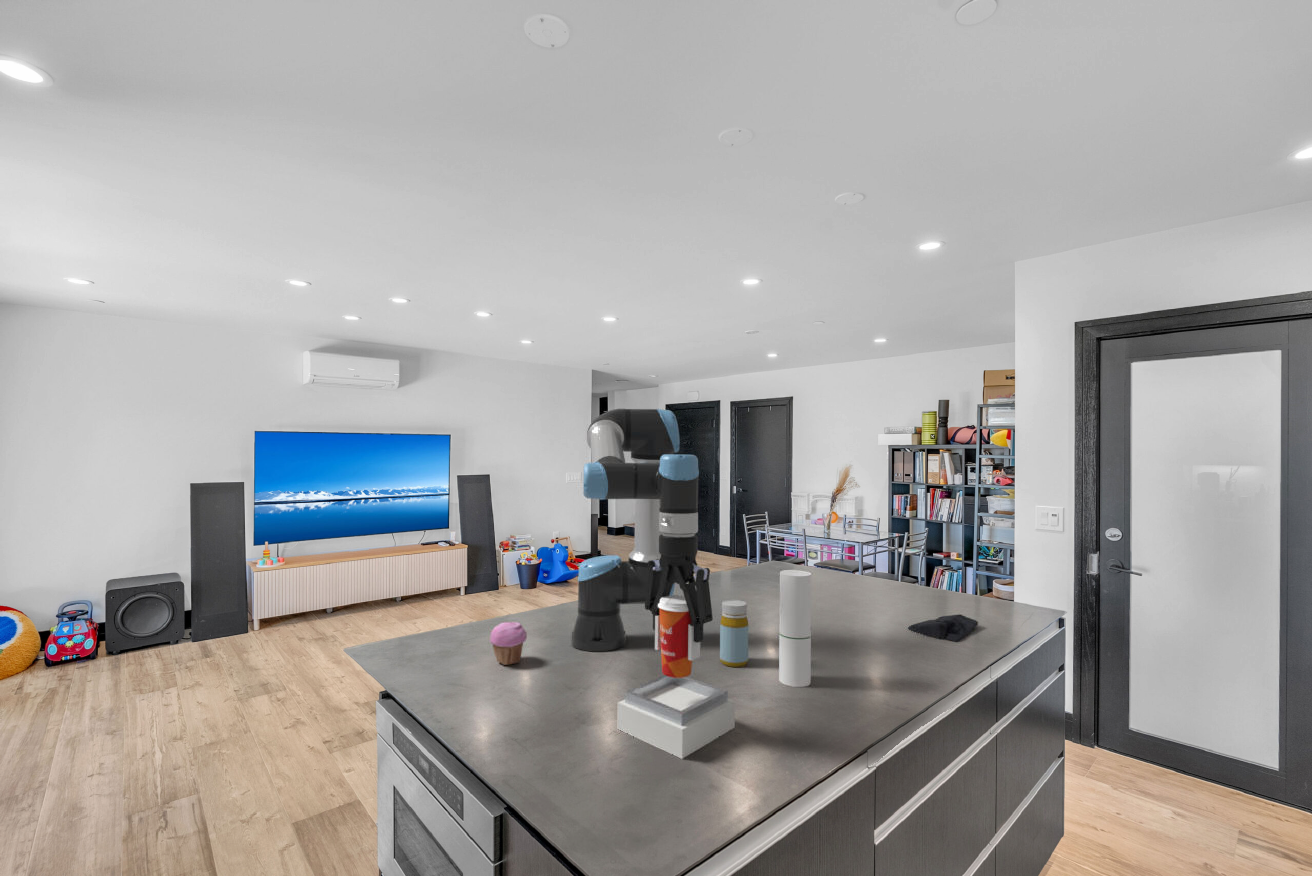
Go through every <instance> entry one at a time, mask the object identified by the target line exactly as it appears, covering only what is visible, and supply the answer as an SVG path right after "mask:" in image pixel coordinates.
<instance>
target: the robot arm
mask: <svg viewBox="0 0 1312 876" xmlns="http://www.w3.org/2000/svg"><path fill="white" fill-rule="evenodd" d="M586 442H587V446H588V448H590V452H591V453H590V454H591V455H590V456H591V462H588V463H585V464H584V466H583V486H582V487H583V488H582V489H583V490H582V491H583V492H582V493H583V496H584V497H585V498H586V499H589V500H590V499H595V500H597V499H598V500H599V501H603V500H634V501H635V504H634V505H635V507H634V509H635V510H634V547H633V550H632V551H631V552H630V553H628V560H627V561H625V560H623V561H622V558H621V556H620V555H611V554H610V555H609V554H608V555H600V556H594V557H591V558H588V559H585V560H583V561H582V562H581V563H580V564H579V566H578V574H577V575H578V577H577V582H578V587H577V589H578V590H577V591H578V593H577V596H578V597H577V617H576V620H575V622H574V623H575V624H574V626H573V630H572V632H571V635H570V645H571V646H573V648H576V649H577V650H581V651H588V652H607V651H614V650H618V649H620V648H622V647H624V646H625V645H626V644H627V633H626V631H625V628H624V623H623V619H622V616H621V605H642V604H643V605H644V609H645V610H646V611H648V610H649V612H651V614H652V629H653V631H654V650H655V651H661V636H660V610H659V607H658V604H659V603H660V599H661V598H662V597H665V596H669V595H670V596H673V594H674V591H675V586H676V584H678V585H679V588H680V590H681V591H682V593H683V595H684V597H685V600H686V604H687V607H688V611H689V614H690V617H691V621H692V623H690V624H689V625H688V660H690V661H692V662H693V661H695V660H697V659H699V658H701V642H703V639H704V624H707V623H710V622H713V619H714V618H713V609H712V602H711V601H712V600H711V599H712V598H711V593H710V591H711V590H710V581H709V580H710V573H711V570H710V568H709V567H701V566H699V565H698V563H697V560H696V558H697V554H698V548H699V546H698V544H699V543H698V541H699V537H698V536H697V535H696V534H697V533H698V532H699V510H698V509H699V507H698V506H699V475H700V470H699V459H698V457H697V455H694V454H675V453H679V451H680V431H679V425H678V421H677V417H676V415H675V413H674V412H673V411H671V410H669V409H659V408H648V409H647V408H616V409H610V410H608V411H606V412H604V413H602V414H599V416H597V417H596V418H595V419H593V420H592V422H591V423H590V424H589V426H588V428H587V430H586ZM624 452H629V453H630V458H631V459H630V460H632V461H633V462H626V459H625V453H624Z"/></svg>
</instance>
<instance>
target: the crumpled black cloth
mask: <svg viewBox="0 0 1312 876" xmlns="http://www.w3.org/2000/svg"><path fill="white" fill-rule="evenodd" d="M978 625H979V621H978V620H976V619H974V618H971V617H968V616H966V615H964V614H951V615H942V616H939V617H937V618H935V619H929V620H925V621H921V622H916V623H914V624H910V625H909V626H908V627H907V630H908V629H909V630H908V631H910V630H911V631H913V632H912V633H915V632H916V633H915V634H919V633H920V634H919V635H922V634H923V635H922V636H925V635H926V637H927V638H928V637H929V638H932V637H933V639H936V640H943V641H944V640H945V641H948V642H949V641H951V642H954V641H955V642H956V643H958V642H959V641H960V640H962V639H964V638H966V637H967V635H969V634H970V633H971V632H972V631H973V630H974V629H975V628H976V627H977V626H978Z"/></svg>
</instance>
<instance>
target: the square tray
mask: <svg viewBox="0 0 1312 876" xmlns="http://www.w3.org/2000/svg"><path fill="white" fill-rule="evenodd" d="M728 694H729V692H728V690H726V689H724V688H720V687H717V686H714V685H712V684H708V683H706V682H703V681H700V680H696V679H695V678H694V679H693V678H691V677H689V676H687V677H683V678H673V677H668V676H666V675H664V674H663V675H662V676H660V677H658V678H655V679H653V680H649V681H648V682H645V683H643V684H640V685H638V686H636V687H634V688H631V689H628V690H627V691H624V699H623V700H621V701H618V702H617V705H616V706H617V710H616V711H617V712H616V713H617V715H616V724H617V725H616V729H617V730H618V729H619V730H618V731H620V730H621V731H620V732H622V731H623V733H625V734H627V733H628V734H627V735H628V736H631V737H633V736H634V738H635V739H637V740H640V741H641V742H645V743H647V744H649V745H651V746H652V747H654V748H655V747H656V748H657V749H659V750H662V751H664V752H666V753H668V754H671V755H672V754H673V756H675V757H677V758H680V759H681V760H683V759H685V758H687V757H688V756H690V755H691V754H693V753H695V752H696V751H698V750H700V749H701V748H703V747H705V746H706V745H707V744H710V743H712V742H713V741H714V740H716V739H717V738H718V739H719V736H720V737H721V736H723V735H725V734H726V733H728V732H729V730H730V731H731V730H733V729H734V728H736V726H735V725H736V716H735V715H736V701H735V700H733V699H730V698H729V697H728Z"/></svg>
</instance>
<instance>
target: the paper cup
mask: <svg viewBox="0 0 1312 876" xmlns="http://www.w3.org/2000/svg"><path fill="white" fill-rule="evenodd" d="M658 607H659V610H660V636H661V649H660V653H661V656H660V657H661V672H662V674H663V676H664V675H666V676H668V677H673V678H683V677H689V676H690V675H691V674H692V669H693V667H692V666H693V660H692V661H690V660H688V625H689V624H690V623H692V621H691V617H690V614H689V611H688V607H687V604H686V600H685V597H684V594H683V595H678V594H676V595H672V596H670V595H669V596H665V597H662V598H661V599H660V603H659V604H658Z"/></svg>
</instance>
